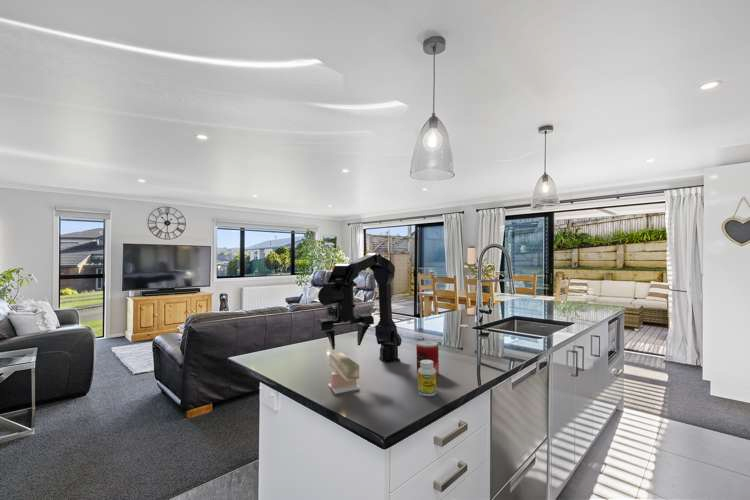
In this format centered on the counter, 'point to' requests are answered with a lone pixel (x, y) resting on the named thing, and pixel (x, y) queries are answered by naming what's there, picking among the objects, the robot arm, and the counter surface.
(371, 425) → the counter surface
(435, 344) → the canned food
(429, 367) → the supplement bottle
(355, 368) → the beam
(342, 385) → the fulcrum
